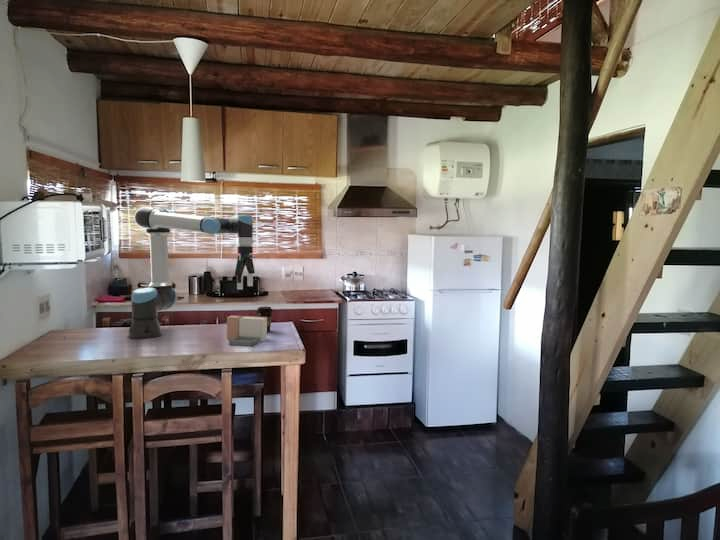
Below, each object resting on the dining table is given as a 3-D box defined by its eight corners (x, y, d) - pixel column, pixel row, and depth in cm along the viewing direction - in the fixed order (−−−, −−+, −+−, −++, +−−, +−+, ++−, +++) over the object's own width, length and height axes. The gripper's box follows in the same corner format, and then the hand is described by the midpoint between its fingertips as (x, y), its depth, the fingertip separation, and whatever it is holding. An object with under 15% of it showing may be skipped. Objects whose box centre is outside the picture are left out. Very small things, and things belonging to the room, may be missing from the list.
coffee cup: (274, 330, 260) (274, 306, 259) (270, 333, 252) (270, 309, 251) (258, 329, 261) (259, 305, 260) (254, 332, 253) (254, 308, 252)
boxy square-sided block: (238, 340, 236) (238, 317, 235) (243, 337, 242) (243, 315, 241) (262, 341, 234) (262, 319, 233) (266, 338, 240) (266, 316, 239)
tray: (229, 344, 227) (229, 340, 226) (237, 340, 236) (237, 335, 235) (252, 346, 225) (252, 341, 225) (259, 341, 234) (259, 337, 234)
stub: (227, 339, 238) (227, 316, 237) (231, 336, 243) (231, 315, 242) (238, 339, 237) (238, 317, 236) (242, 337, 242) (242, 315, 241)
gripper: (242, 246, 228) (242, 291, 230) (260, 245, 253) (260, 285, 254) (227, 246, 229) (227, 290, 231) (247, 244, 254) (247, 284, 256)
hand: (245, 287), depth 243 cm, fingers open, 13 cm apart
